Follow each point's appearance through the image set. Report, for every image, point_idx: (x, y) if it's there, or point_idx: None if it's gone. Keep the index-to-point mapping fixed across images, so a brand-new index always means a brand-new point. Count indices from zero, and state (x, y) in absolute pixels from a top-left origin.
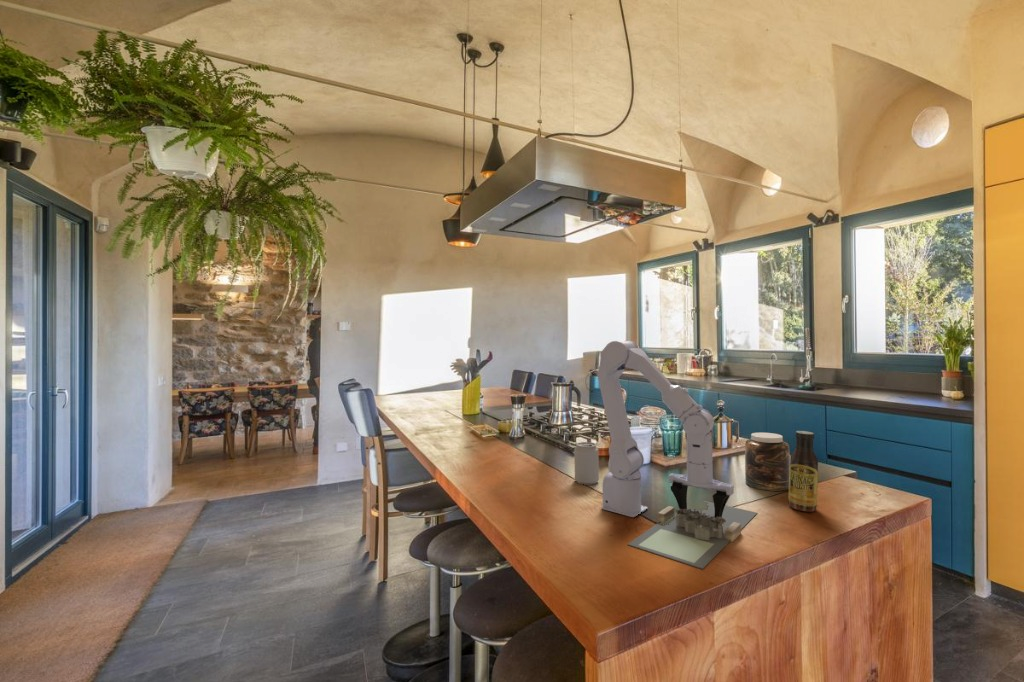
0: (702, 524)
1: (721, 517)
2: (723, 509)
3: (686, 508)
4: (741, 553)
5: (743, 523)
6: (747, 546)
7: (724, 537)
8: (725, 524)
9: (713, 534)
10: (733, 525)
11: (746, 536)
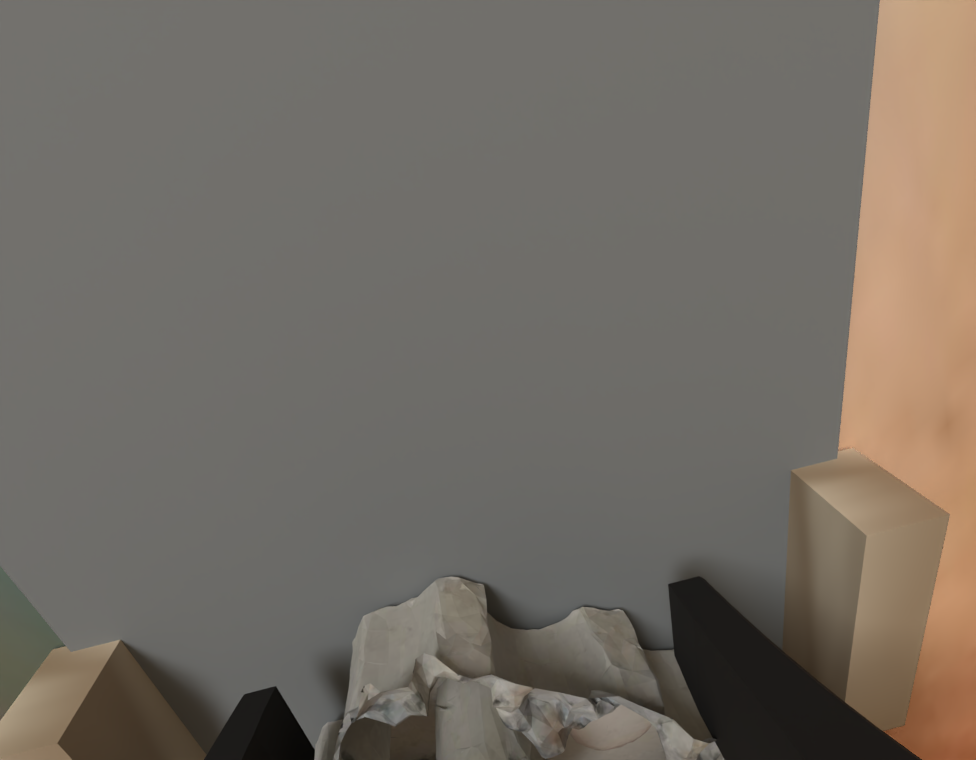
0: (521, 641)
1: (737, 612)
2: (851, 716)
3: (255, 756)
4: (919, 708)
5: (829, 180)
6: (941, 609)
7: None
8: (662, 404)
9: None
10: (883, 613)
11: (908, 465)
